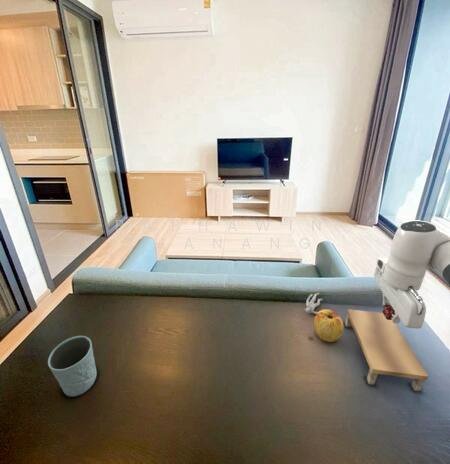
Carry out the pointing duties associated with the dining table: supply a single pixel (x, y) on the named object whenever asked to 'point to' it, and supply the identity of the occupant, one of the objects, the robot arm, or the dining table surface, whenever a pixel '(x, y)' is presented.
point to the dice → (388, 312)
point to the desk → (385, 347)
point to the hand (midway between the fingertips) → (390, 314)
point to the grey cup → (73, 365)
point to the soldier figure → (312, 304)
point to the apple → (328, 325)
